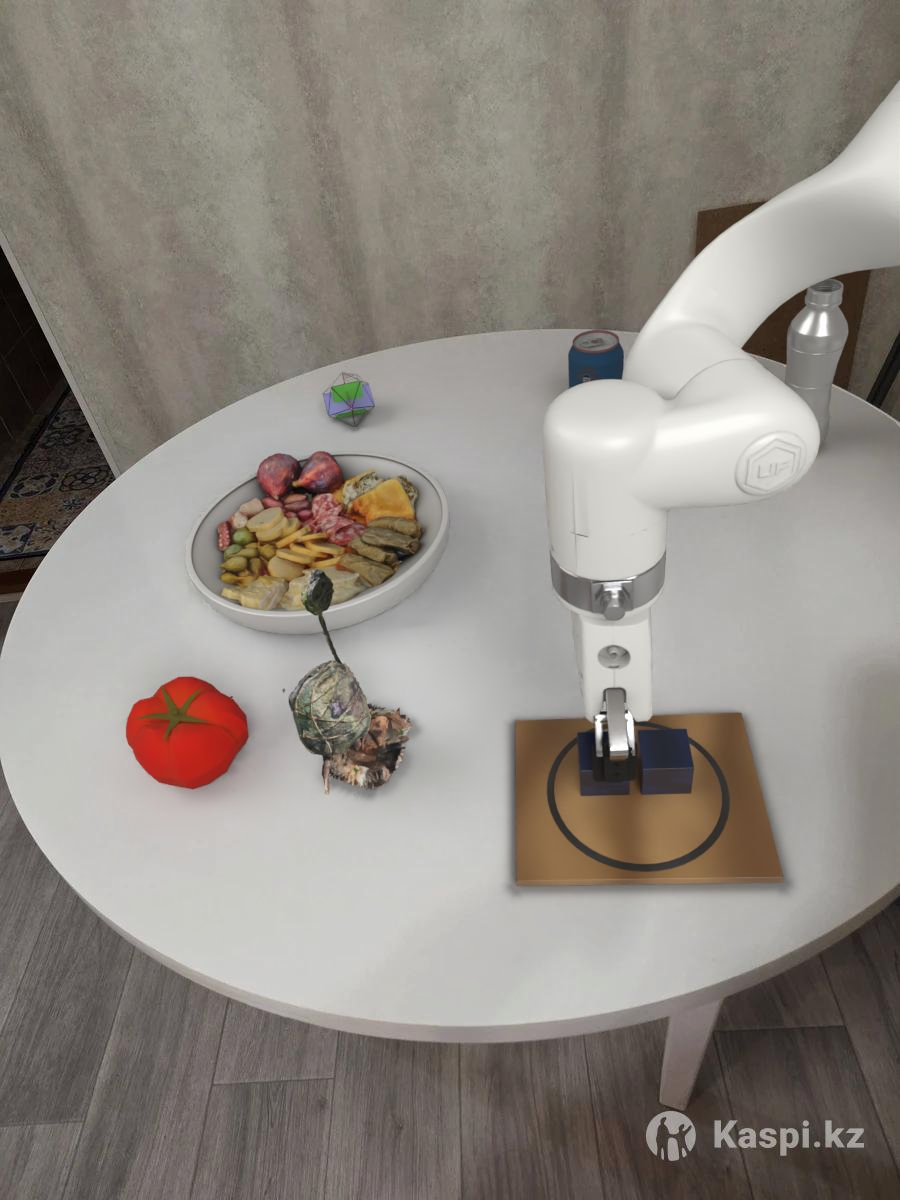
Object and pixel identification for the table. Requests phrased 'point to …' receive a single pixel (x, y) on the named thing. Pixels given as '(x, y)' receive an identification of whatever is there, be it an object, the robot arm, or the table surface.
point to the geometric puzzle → (349, 397)
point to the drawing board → (642, 812)
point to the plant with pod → (344, 712)
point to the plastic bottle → (816, 348)
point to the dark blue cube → (664, 761)
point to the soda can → (595, 357)
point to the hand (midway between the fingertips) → (609, 727)
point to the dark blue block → (586, 770)
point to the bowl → (318, 539)
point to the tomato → (186, 733)
